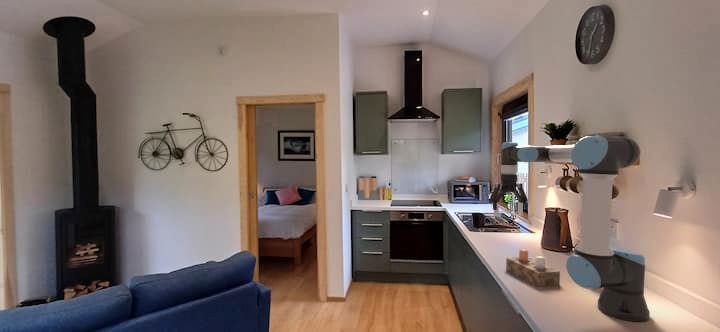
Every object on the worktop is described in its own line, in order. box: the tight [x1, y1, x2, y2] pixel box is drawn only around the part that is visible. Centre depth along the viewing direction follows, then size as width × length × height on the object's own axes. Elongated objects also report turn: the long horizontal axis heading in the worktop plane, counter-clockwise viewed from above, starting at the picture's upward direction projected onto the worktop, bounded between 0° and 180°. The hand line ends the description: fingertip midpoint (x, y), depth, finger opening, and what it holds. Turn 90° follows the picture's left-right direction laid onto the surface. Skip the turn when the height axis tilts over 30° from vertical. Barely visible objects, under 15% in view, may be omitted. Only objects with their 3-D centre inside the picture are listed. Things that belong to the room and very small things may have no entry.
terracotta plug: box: [518, 248, 529, 262], centre depth 164 cm, size 4×4×6 cm
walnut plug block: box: [505, 256, 561, 287], centre depth 159 cm, size 22×11×6 cm, turn 13°
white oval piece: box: [535, 255, 546, 270], centre depth 153 cm, size 4×4×6 cm
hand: (508, 216), depth 167 cm, fingers open, 13 cm apart
